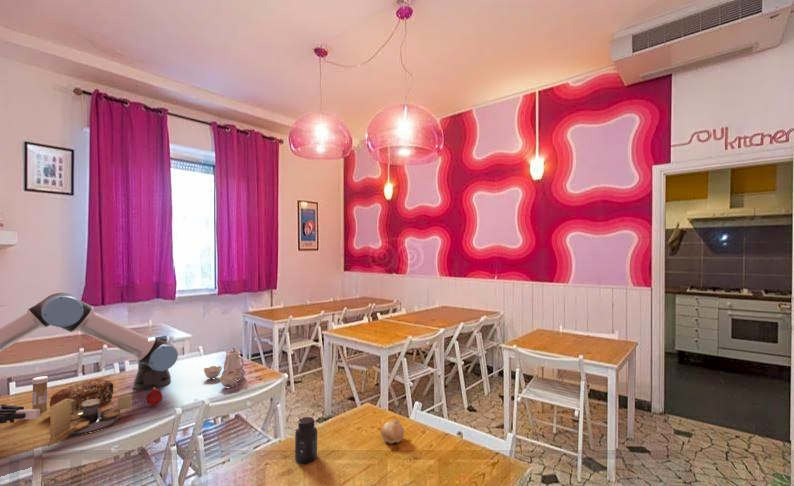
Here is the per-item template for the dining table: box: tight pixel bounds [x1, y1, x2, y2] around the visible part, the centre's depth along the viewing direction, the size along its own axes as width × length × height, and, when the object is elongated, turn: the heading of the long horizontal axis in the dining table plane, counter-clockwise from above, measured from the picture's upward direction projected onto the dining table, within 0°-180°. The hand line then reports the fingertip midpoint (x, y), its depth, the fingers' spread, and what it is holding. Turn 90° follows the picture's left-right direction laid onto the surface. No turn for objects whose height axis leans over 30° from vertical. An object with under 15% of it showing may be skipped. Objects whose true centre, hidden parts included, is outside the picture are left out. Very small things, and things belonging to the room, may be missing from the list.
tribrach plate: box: [68, 394, 133, 437], centre depth 142 cm, size 22×18×8 cm
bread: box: [49, 378, 114, 411], centre depth 156 cm, size 19×11×10 cm, turn 168°
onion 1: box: [145, 387, 163, 408], centre depth 157 cm, size 6×6×8 cm
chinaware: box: [203, 347, 246, 388], centre depth 187 cm, size 28×17×17 cm, turn 55°
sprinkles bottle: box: [31, 375, 49, 413], centre depth 152 cm, size 5×5×14 cm
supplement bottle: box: [294, 416, 318, 465], centre depth 120 cm, size 7×7×12 cm
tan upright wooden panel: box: [48, 398, 89, 445], centre depth 131 cm, size 14×6×12 cm, turn 5°
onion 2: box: [380, 418, 405, 445], centre depth 131 cm, size 8×8×7 cm
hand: (38, 414), depth 128 cm, fingers closed
